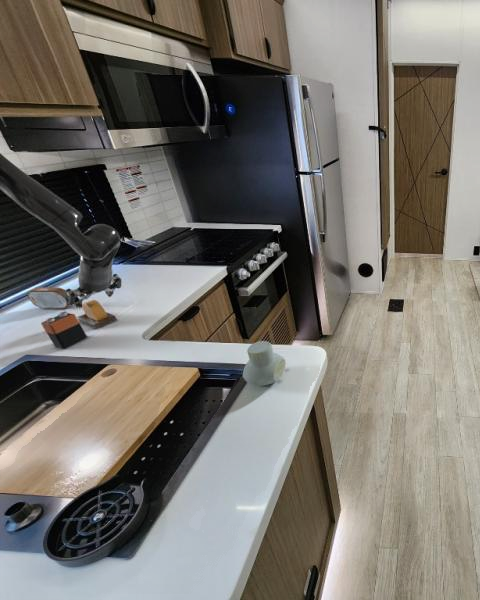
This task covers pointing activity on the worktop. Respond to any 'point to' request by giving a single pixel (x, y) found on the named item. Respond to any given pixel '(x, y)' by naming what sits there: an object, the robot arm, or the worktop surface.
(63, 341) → the battery
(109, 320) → the tape holder
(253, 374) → the air freshener
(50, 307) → the tin
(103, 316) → the tape roll
